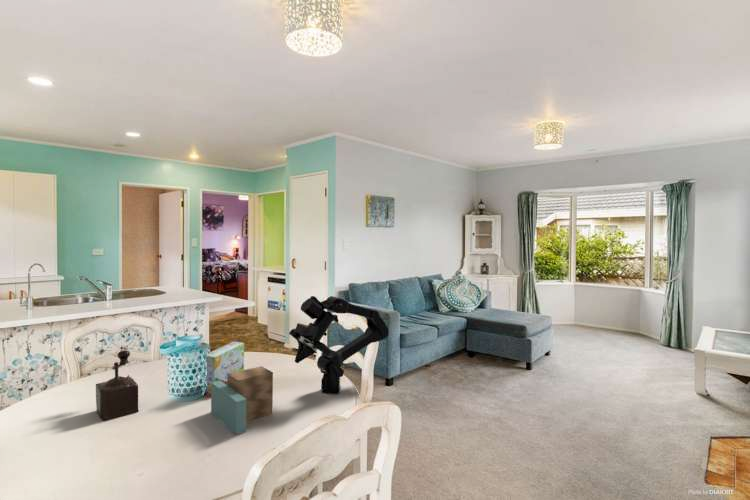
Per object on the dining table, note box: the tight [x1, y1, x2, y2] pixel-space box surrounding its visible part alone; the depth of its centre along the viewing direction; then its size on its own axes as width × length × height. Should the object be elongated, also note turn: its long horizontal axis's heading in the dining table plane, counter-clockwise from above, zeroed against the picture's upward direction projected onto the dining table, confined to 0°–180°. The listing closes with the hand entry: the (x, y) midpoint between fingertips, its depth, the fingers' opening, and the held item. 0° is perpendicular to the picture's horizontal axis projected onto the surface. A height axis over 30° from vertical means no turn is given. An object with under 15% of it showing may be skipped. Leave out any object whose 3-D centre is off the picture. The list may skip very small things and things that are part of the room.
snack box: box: [203, 341, 245, 398], centre depth 158 cm, size 21×6×15 cm, turn 168°
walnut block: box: [227, 365, 274, 423], centre depth 134 cm, size 12×8×14 cm, turn 132°
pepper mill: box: [95, 349, 140, 422], centre depth 137 cm, size 16×11×18 cm
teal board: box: [210, 381, 247, 436], centre depth 129 cm, size 3×20×10 cm, turn 42°
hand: (295, 362), depth 147 cm, fingers closed
